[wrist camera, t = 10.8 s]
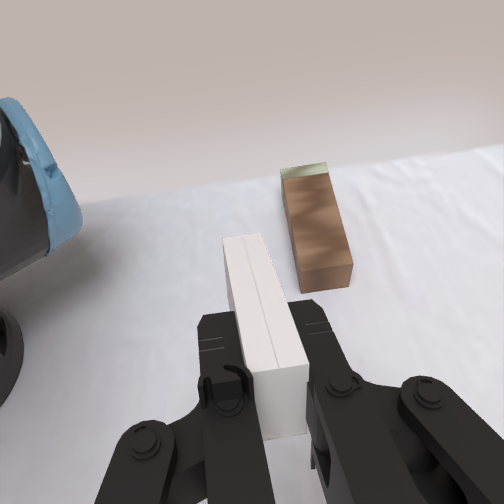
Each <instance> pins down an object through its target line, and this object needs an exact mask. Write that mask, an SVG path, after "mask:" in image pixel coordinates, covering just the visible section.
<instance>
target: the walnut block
mask: <svg viewBox="0 0 504 504" xmlns="http://www.w3.org/2000/svg"><path fill="white" fill-rule="evenodd" d="M280 171H281V189H282V200H283V205H284V208H285V213H286V218H287V224H288V229H289V234H290V239H291V244H292V250H293V255H294V260H295V265H296V270H297V276H298V281H299V286H300V291H301V294H303V293H310V292H317V291H323V290H330V289H337V288H344V287H348V286H349V282H350V277H351V273H352V268H353V260H352V256H351V253H350V249H349V246H348V242H347V238H346V235H345V231H344V228H343V224H342V220H341V217H340V213H339V209H338V206H337V202H336V199H335V195H334V191H333V188H332V184H331V181H330V177H329V171H328V168H327V164H326V162H324V163H318V164H311V165H305V166H298V167H291V168H285V169H281V170H280Z"/></svg>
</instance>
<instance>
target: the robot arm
mask: <svg viewBox="0 0 504 504" xmlns="http://www.w3.org/2000/svg"><path fill="white" fill-rule="evenodd" d="M81 226H82V213H81V210H80V208H79V205H78V203H77V201H76V199H75V197H74V195H73V192H72V191H71V189H70V187H69V185H68V183H67V181H66V179H65V177H64V176H63V174H62V173H61V171H60V170H59V168H58V167H57V163H56V162H55V160H54V158H53V156H52V154H51V152H50V150H49V148H48V146H47V145H46V143H45V142H44V140H43V138H42V136H41V134H40V133H39V131H38V130H37V128H36V126H35V125H34V123H33V122H32V120H31V118H30V117H29V116H28V114H27V113H26V111H25V109H24V108H23V107H22V105H21V104H20V103H19V102H18V101H17V100H15V99H13V98H9V97H6V98H2V99H0V281H1V280H3V279H5V278H6V277H8V276H10V275H12V274H14V273H15V272H17V271H19V270H21V269H22V268H24V267H26V266H28V265H30V264H31V263H33V262H35V261H37V260H38V259H40V258H42V257H44V256H48V255H50V254H52V253H53V251H54V250H55V248H57V247H58V246H60V245H61V244H63V243H64V242H66V241H67V240H69V239H71V238H72V237H74V236H75V235H76V234H77V233H78V232H79V230H80V229H81ZM222 242H223V253H224V263H225V273H226V284H227V294H228V301H229V307H230V311H229V312H222V313H215V314H207V315H203V316H202V318H201V320H200V322H199V325H198V327H197V330H198V345H199V360H200V374H201V376H200V377H199V381H198V392H199V398H200V400H199V403H198V404H197V405H196V407H195V408H194V409H193V410H192V411H191V412H190V413H189V414H188V415H186V416H185V417H183V418H181V419H179V420H177V421H175V422H173V423H171V424H169V425H166V424H165V423H164V422H160V421H156V420H149V421H142V422H140V423H138V424H136V425H133V426H132V427H130V428H129V429H128V430H127V431H126V432H125V433H124V434H123V435H122V436H121V438H120V440H119V441H118V443H117V445H116V448H115V451H114V453H113V456H112V458H111V461H110V464H109V466H108V469H107V471H106V474H105V477H104V479H103V482H102V484H101V487H100V490H99V492H98V495H97V497H96V500H95V503H94V504H197V503H199V502H200V501H202V500H204V499H206V498H207V500H208V504H275V499H274V494H273V489H272V484H271V479H270V474H269V469H268V464H267V459H266V454H265V449H264V444H263V441H266V440H271V439H277V438H283V437H289V436H295V435H301V434H307V424H308V427H309V431H310V434H311V437H312V442H311V470H312V469H315V465H316V468H317V471H318V475H319V478H320V482H321V485H322V488H323V492H324V495H325V499H326V502H327V504H504V440H503V439H502V438H501V437H500V436H499V435H498V434H497V433H496V432H495V431H494V430H493V429H492V428H491V427H490V426H489V425H488V424H487V423H486V422H485V421H484V420H483V419H482V418H481V417H480V416H479V415H478V414H477V413H476V412H474V411H473V410H472V409H471V408H470V407H469V406H468V405H467V404H466V403H465V402H464V401H463V400H462V399H461V398H460V397H459V396H458V395H457V394H456V393H455V392H454V391H453V390H452V389H451V388H450V387H448V386H447V385H446V384H444V383H443V382H441V381H440V380H437V379H434V378H432V377H427V376H415V377H410V378H409V379H407V380H406V381H404V382H403V384H402V386H401V388H398V387H390V386H381V385H376V384H372V383H370V382H367V381H365V380H363V378H362V377H361V376H360V375H359V374H357V373H356V372H354V371H353V370H352V369H351V368H350V366H349V364H348V362H347V360H346V358H345V355H344V353H343V351H342V349H341V347H340V345H339V343H338V340H337V338H336V336H335V334H334V332H333V331H332V328H331V325H330V323H329V322H328V319H327V317H326V315H325V313H324V310H323V308H321V307H320V306H319V305H318V304H317V303H315V302H314V301H313V300H312V299H310V300H303V301H295V302H288V303H287V301H286V298H285V295H284V293H283V290H282V287H281V284H280V282H279V279H278V276H277V273H276V271H275V268H274V265H273V262H272V259H271V257H270V254H269V251H268V248H267V246H266V243H265V240H264V237H263V235H262V233H260V234H251V235H243V236H234V237H226V238H222ZM22 357H23V339H22V334H21V331H20V328H19V326H18V324H17V322H16V321H15V319H14V318H13V317H12V316H11V315H10V314H9V313H8V312H7V311H5V310H4V309H2V308H1V307H0V406H1V404H2V403H3V402H4V400H5V399H6V397H7V396H8V394H9V393H10V391H11V389H12V387H13V385H14V383H15V381H16V379H17V376H18V373H19V370H20V367H21V363H22Z"/></svg>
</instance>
